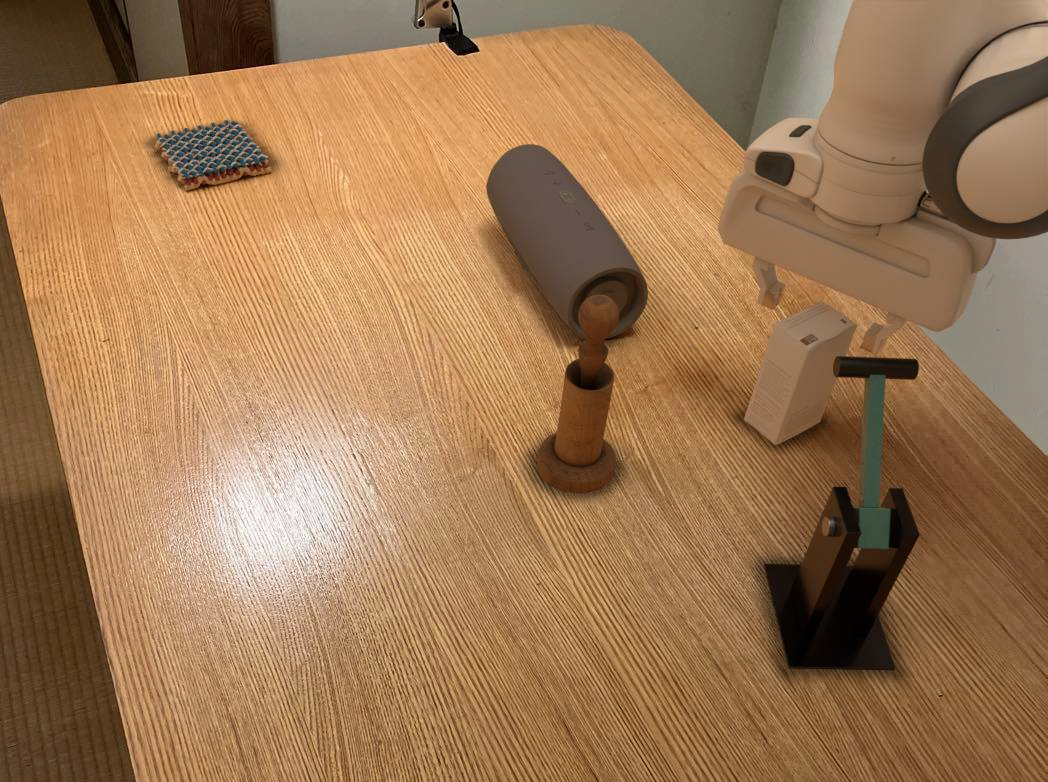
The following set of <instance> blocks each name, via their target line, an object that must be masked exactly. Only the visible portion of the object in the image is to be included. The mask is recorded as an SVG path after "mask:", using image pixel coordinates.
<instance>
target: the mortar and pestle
mask: <svg viewBox="0 0 1048 782" xmlns="http://www.w3.org/2000/svg"><path fill="white" fill-rule="evenodd" d="M578 319H579V323H580V326H581V328H582V330H583V332H584V334H585V335H586V339H585V340H584V341H583V342H581V343H580V344H579V345H578V349H577V351H578V354H577V355H578V358H577V359H575V360H572V361H571V362H570V363H569V364H567V365H566V368H565V371H564V379H563V386H562V394H561V403H560V408H559V416H558V422H557V429H556V432H555V433H552V434H550V435H549V436H548V437H546V438H545V440H543V442H542V443H541V444H540V445H539V446H540V447H539V449H538V454H537V461H536V468H537V472H538V474H539V476H540V478H541V479H542V480H543V481H544V482H545V483H546V484H547V485H549V486H550V487H553V488H554V489H556V490H559V491H562V492H565V493H571V494H586V493H591V492H595V491H597V490H600V489H602V488H604V487H605V486H606V485H608V483H609V482H611V480H612V479H613V476H614V472H615V467H616V454H615V451H614V449H613V448H612V446H611V444H609V442H608V441H607V440H605V439H604V438H605V434H606V433H605V432H606V427H607V422H608V416H609V410H610V405H611V400H612V394H613V388H614V382H615V373H614V370H613V369H612V367H611V366H610V365H609V364H608V363H607V362H606V361H607V359H608V355H609V348H608V347H607V345H606V344H605V343H604V342H605V340H606V339H607V338H606V337H607V336H608V335H609V334H610V333H611V332H612V331H613V330H614V329H615V327H616V326H617V324H618V321H619V310H618V307H617V305H616V303H615V302H614V301H613V300H612V299H611V298H610V297H608V296H605V295H593V296H590V297H589V298H587V299H586V300H585V301H584V302H583V303H582V305H581V307H580V309H579V313H578ZM605 338H606V339H605Z"/></svg>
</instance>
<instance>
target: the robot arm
mask: <svg viewBox="0 0 1048 782" xmlns="http://www.w3.org/2000/svg"><path fill="white" fill-rule="evenodd" d="M742 162H743V163H742V165H743V170H742V171H740V172H739V173H738V174H737V175H735V177H734V178H733V180H732V181H731V184H730V185H729V188H728V190H727V193H726V196H725V199H724V201H723V204H722V208H721V211H720V215H719V220H718V224H717V231H718V233H719V236H720V239H721V240H722V242H723V244H724V245H726V246H729V247H731V248H733V249H735V250H739V251H740V252H743V253H745V254H748V255H750V256H753V257H754V258H753V263H752V268H753V269H752V270H753V272H754V275H755V278H756V281H757V284H758V287H759V288H760V289H759V292H758V297H757V301H756V303H757V304H758V305H760V306H762V307H765V308H767V309H770V310H771V311H773V310H775V309H776V307H778V306H779V305H780V303H781V302H782V300H783V296H784V295H783V293H784V292H785V289H786V284H785V283H783V282H781V281H778V275H777V273H776V268H775V266H777V267H778V268H780V269H781V268H782V269H783V270H786V271H787V272H788V271H789V272H791V273H793V274H795V275H797V276H801V277H802V278H805V279H807V280H810V281H813V282H815V283H816V284H819V285H822V286H824V287H827V288H829V289H832V290H834V291H837V292H839V293H841V294H844V295H845V296H849V297H850V298H853V299H856V300H858V301H860V302H862V303H864V304H866V305H870V306H872V307H875V308H877V309H880V310H882V311H884V312H886V313H887V314H886V316H885V319H884V321H885V323H886V324H884V325H882V324H879V323H878V322H873V323H872V324H871V326H870V328H868V329H867V330H866V331H865V333H864V336H863V338H862V343H861V344H860V347H859V348H860V349H862V350H864V351H866V352H868V353H870V354H873V355H875V356H878V355H879V354H880V353H881V352H882V351H883V349H884V348H885V346H886V344H887V342H888V339H889V337H891V336H893V334H895V333H897V332H898V331H899V330H901V329H902V328H903V327H904V326H905V325H906V323H907V322H911V323H913V324H915V325H918V326H920V327H923V328H925V329H927V330H929V331H932V332H935V333H940V332H943V331H945V330H946V329H949V328H951V327H952V326H954V325H955V324H956V323H957V322H958V320H959V319H960V318H961V317H962V315H963V313H964V312H965V311H966V309H967V306H968V304H969V302H970V298H971V296H972V293H973V290H974V287H975V283H976V280H977V276H978V273H979V272H980V271H982V270H983V269H984V268H985V267H986V266H987V265H988V263H989V262H990V259H991V257H992V254H993V253H994V250H995V248H996V244H997V240H1022V239H1028V238H1033V237H1037V236H1041V235H1043V234H1046V233H1048V0H852V2H851V4H850V8H849V10H848V14H847V18H846V20H845V23H844V26H843V30H842V33H841V36H840V40H839V43H838V46H837V50H836V54H835V58H834V62H833V87H832V90H831V94H830V97H829V99H828V101H827V103H826V104H825V106H824V107H823V109H822V111H821V113H820V116H819V117H788V118H785V119H783V120H781V121H779V122H777V123H776V124H774V125H773V126H771V127H769V128H768V129H767V130H765V131H764V132H763V133H761V134H760V135H759V136H758V137H757V138H756V139H755V140H753V142H752V143H751V144H750V145H749V146H748V147H747V148H746V150H745V153H744V155H743V161H742Z"/></svg>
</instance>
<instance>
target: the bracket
mask: <svg viewBox="0 0 1048 782" xmlns="http://www.w3.org/2000/svg"><path fill="white" fill-rule="evenodd" d="M850 496H851V495H850V493H849V490H848V487H847V486H840V485H839V486H836V485H835V486H832V488H831V490H830V493H829V494H828V497H827V500H826V502H825V505H824V507H823V510H822V512H821V515H820V517H819V520H818V522H817V524H816V526H815V529H814V531H813V534H812V537H811V539H810V541H809V544H808V546H807V549H806V550H805V554H804V556H803V558H802V561H801V563H800V564H797V563H795V564H793V563H764V564H763V568H764V573H765V576H766V580H767V585H768V589H769V593H770V597H771V601H772V606H773V611H774V614H775V618H776V622H777V626H778V631H779V635H780V639H781V644H782V647H783V651H784V655H785V661H786V664H787V669H790V670H841V671H843V670H845V671H848V670H849V671H896V666H895V664H894V661H893V656H892V653H891V651H890V648H889V643H888V642H887V638H886V635H885V632H884V629H883V626H882V623H881V620H880V616H879V614H880V612H881V611H882V609H883V608H884V605H885V603H886V601H887V599H888V597H889V595H890V593H891V591H892V590H893V587H894V585H895V584H896V582H897V580H898V578H899V576H900V574H901V572H902V570H903V568H904V566H905V564H906V562H907V561H908V559H909V557H910V555H911V553H912V551H913V549H914V548H915V546H916V543H917V541H918V539H919V538H920V535H921V533H920V531H919V528H918V525H917V523H916V520H915V517H914V514H913V512H912V510H911V507H910V504H909V502H908V499H907V496H906V493H905V491H904V489H903V487H888V489H887V492H886V493H885V496H884V499H883V500H882V502H881V504H880V505H879V508H890V509H891V513H890V532H889V549H859V552H858V553H857V556H856V558H855V560H854V562H853V564H852V565H848V563H849V561H850V559H851V557H852V556H853V553H854V551H855V549H856V548H855V546H856V544H857V542H858V540H859V538H860V535H861V530H860V527H859V524H858V521H857V518H856V515H855V511H854V508H853V507H854V505H853V503H852V500H851V499H852V498H851V497H850Z"/></svg>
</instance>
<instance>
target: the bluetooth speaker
mask: <svg viewBox="0 0 1048 782" xmlns="http://www.w3.org/2000/svg"><path fill="white" fill-rule="evenodd" d="M577 179H578V178H576V177H575V176H574V175H573V173H572V172H571V171H570V170H569V169H568V168H567V166H566V165H565V164H564V163H563V162H562V161H561V160H560V159H559V158H558V157H557V156H556V155H554V154H553V153H552V152H551V151H550V150H549V149H547V148H546V147H544V146H542V145H539V144H534V143H528V144H527V143H526V144H521V145H517V146H515V147H512V148H510V149H509V150H507V151H506V152H504V153H503V155H501V156H500V157H499V159H497V161H496V162H495V163H494V165H493V166H492V168H491V170H490V172H489V175H488V178H487V182H486V195H487V198H488V201H489V204H490V206H491V208H492V212H493V214H494V215H495V217H496V219H497V221H498V223H499V225H500V227H501V229H502V231H503V232H504V234H505V236H506V238H507V240H508V241H509V243H510V245H511V247H512V248H513V251H514V254H515V255H516V258H517V260H518V261H519V262H520V264H521V265H522V267H523V268H524V270H525V272H526V273H527V275H528V277H529V278H530V279H531V280H532V281H533V282H534V284H535V285H536V287H537V288H538V289H539V291H540V292H541V294H542V295H543V297H544V299H545V300H546V301H548V303H549V304H550V306H551V307H552V309H553V310H554V311H555V313H556V314H557V315H558V317H559V318H560V319H561V320H562V322H563V323H564V324H565V326H566V327H568V329H569V330H570V331H571V332H572V333H573V334H574V335H575V336H576V337H578V338H580V339H582V340H584V341H585V339H586V335H585V334H584V332H583V330H582V328H581V326H580V323H579V319H578V313H579V309H580V307H581V305H582V303H583V302H584V301H585V300H586V299H587V298H589V297H590V296H593V295H605V296H608V297H610V298H611V299H612V300H613V301H614V302H615V303H616V305H617V307H618V310H619V321H618V324H617V326H616V327H615V329H614V330H613V331H612V332H611V333H610V334H609V335H608V336H607V337H606V338H605V340H606V339H611V338H614V337H617V336H619V335H621V334H622V333H625V332H626V331H627V330H628V329H630V328H631V327H632V326H633V325H634V324H635V323H636V322H637V321H638V320H639V319H640V317H641V316H642V314H643V312H644V310H645V309H646V306H647V303H648V299H649V292H648V291H649V290H648V284H647V280H646V279H645V277H644V275H643V271H642V270H641V268H640V266H639V264H638V263H637V261H636V259H635V257H634V256H633V255H632V253H631V251H630V250H629V249H628V247H627V246H626V244H625V243H624V241H623V240H622V238H621V237H620V235H619V233H618V232H617V230H616V229H615V228H614V226H613V225H612V223H611V222H610V220H609V219H608V218H607V216H606V215H605V213H604V212H603V211H602V209H601V208H600V207H599V206H598V204H597V203H596V201H595V200H594V199H593V198H592V197H591V195H590V194H589V192H588V191H587V190H586V189H585V188H584V187H583V185H582V184H581V183H580V181H578V180H577Z"/></svg>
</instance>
